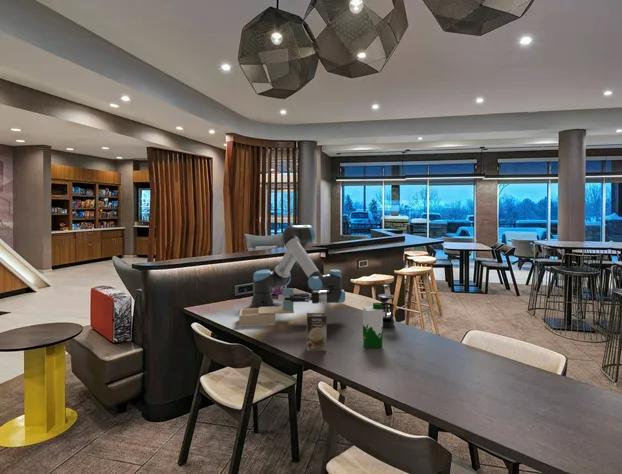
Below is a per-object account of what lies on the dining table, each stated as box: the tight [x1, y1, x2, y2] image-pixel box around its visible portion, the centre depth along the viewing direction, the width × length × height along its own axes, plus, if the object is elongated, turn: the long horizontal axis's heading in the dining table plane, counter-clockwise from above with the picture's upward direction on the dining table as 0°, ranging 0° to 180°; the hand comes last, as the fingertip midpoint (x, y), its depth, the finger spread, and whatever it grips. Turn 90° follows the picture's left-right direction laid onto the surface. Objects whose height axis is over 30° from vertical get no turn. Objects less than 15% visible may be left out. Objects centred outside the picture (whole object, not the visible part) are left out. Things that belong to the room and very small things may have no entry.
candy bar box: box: [271, 285, 287, 296], centre depth 280 cm, size 11×5×16 cm, turn 84°
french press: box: [377, 284, 395, 329], centre depth 202 cm, size 12×9×23 cm
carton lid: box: [258, 287, 295, 315], centre depth 211 cm, size 20×14×12 cm
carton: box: [238, 307, 276, 327], centre depth 211 cm, size 20×14×6 cm
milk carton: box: [362, 302, 384, 349], centre depth 172 cm, size 9×9×20 cm
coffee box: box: [305, 312, 328, 352], centre depth 168 cm, size 9×6×16 cm
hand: (278, 298), depth 211 cm, fingers closed on carton lid, 3 cm apart
